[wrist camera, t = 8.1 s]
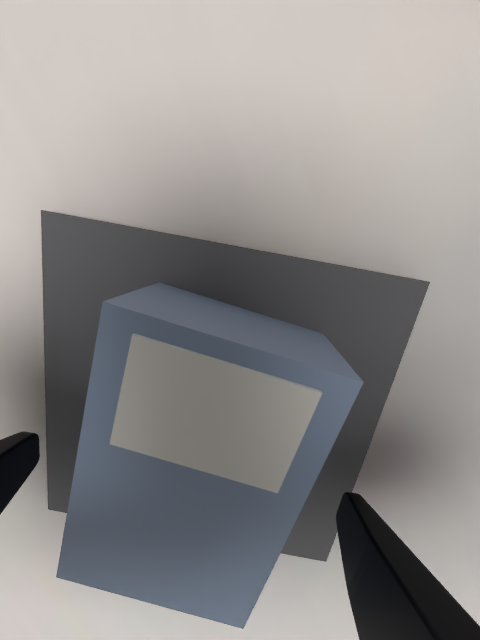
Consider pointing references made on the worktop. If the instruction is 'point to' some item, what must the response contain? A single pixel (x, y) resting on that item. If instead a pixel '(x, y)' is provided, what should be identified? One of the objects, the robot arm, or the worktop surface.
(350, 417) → the mat
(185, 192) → the worktop surface
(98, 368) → the card box
